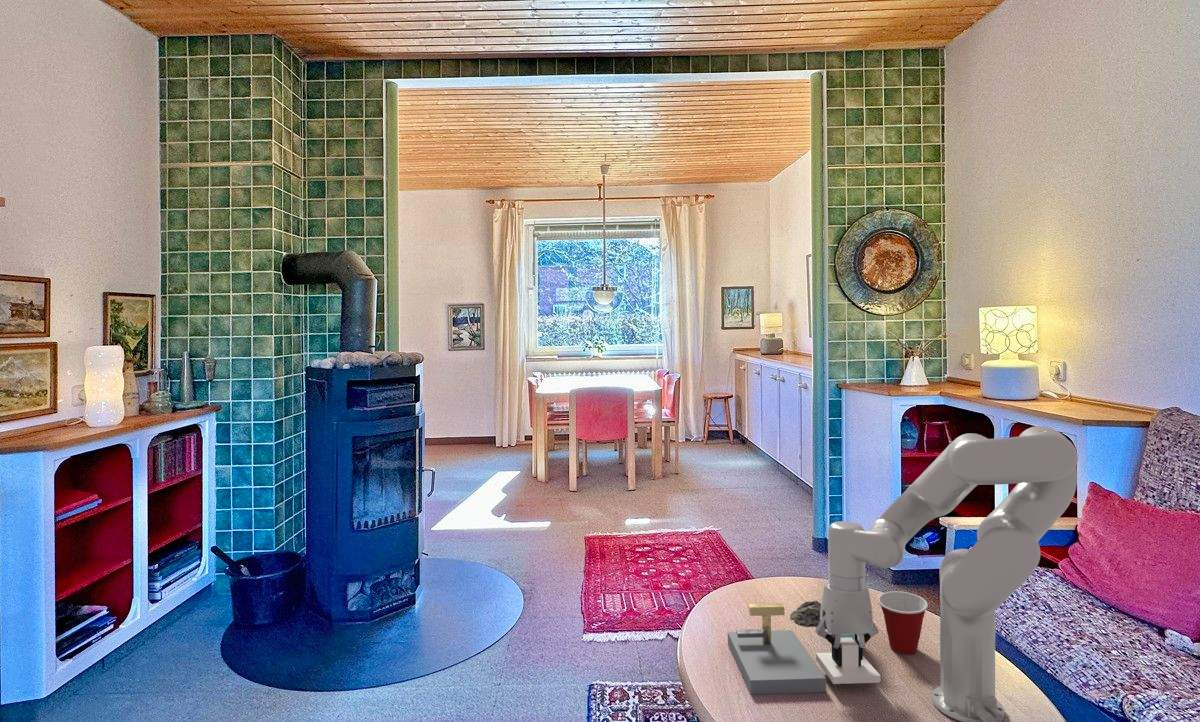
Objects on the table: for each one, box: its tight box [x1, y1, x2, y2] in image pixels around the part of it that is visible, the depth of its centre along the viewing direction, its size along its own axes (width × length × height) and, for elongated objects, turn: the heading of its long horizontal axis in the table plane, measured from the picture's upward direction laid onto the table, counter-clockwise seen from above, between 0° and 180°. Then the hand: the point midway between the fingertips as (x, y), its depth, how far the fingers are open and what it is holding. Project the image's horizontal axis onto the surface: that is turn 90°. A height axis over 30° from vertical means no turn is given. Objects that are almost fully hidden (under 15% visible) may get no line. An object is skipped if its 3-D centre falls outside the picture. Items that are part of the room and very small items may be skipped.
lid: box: [815, 637, 881, 685], centre depth 136 cm, size 10×10×6 cm
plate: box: [727, 629, 827, 695], centre depth 143 cm, size 22×16×3 cm
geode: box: [789, 600, 824, 628], centre depth 168 cm, size 19×4×15 cm
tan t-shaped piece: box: [735, 602, 786, 644], centre depth 148 cm, size 11×2×9 cm, turn 89°
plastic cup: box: [877, 590, 929, 655], centre depth 149 cm, size 11×11×12 cm
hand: (847, 662), depth 136 cm, fingers closed on lid, 3 cm apart
